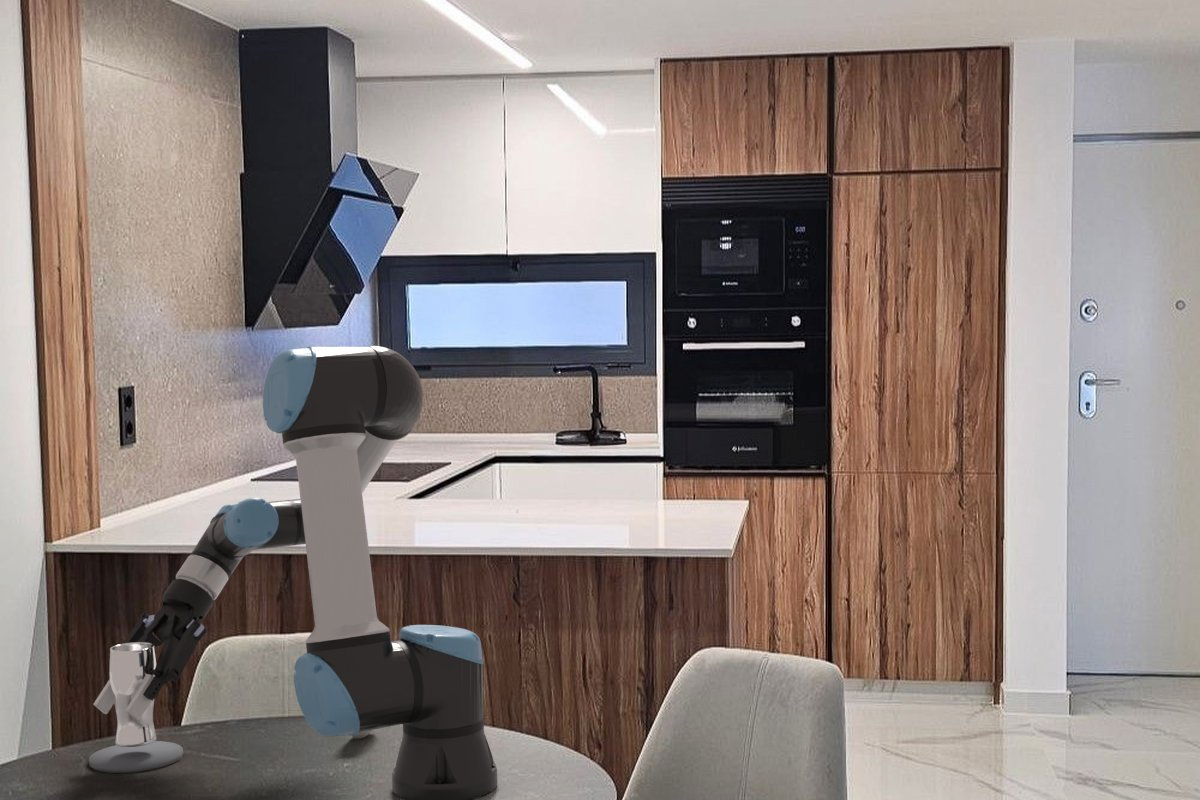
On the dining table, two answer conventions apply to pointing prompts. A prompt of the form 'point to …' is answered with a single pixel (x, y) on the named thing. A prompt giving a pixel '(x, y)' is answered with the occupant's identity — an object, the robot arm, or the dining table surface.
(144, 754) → the mat
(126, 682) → the beer glass
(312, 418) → the robot arm
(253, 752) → the dining table surface
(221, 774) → the dining table surface
